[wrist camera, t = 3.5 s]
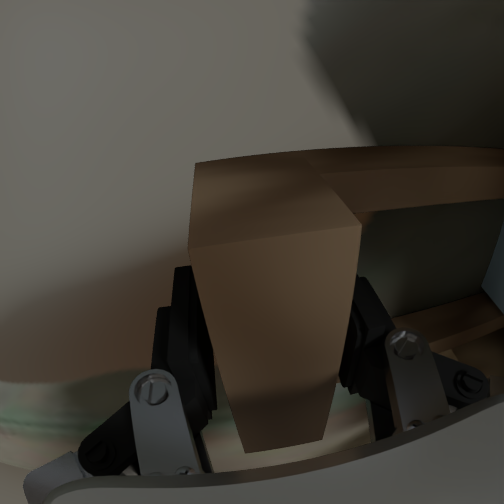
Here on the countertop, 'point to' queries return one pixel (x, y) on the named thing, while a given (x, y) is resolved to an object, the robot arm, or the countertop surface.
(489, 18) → the countertop surface
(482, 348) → the tan boxy piece
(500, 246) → the blue block
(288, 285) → the brown wooden frame
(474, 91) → the countertop surface
